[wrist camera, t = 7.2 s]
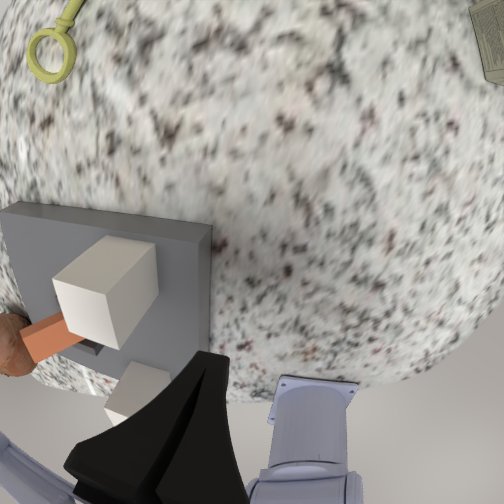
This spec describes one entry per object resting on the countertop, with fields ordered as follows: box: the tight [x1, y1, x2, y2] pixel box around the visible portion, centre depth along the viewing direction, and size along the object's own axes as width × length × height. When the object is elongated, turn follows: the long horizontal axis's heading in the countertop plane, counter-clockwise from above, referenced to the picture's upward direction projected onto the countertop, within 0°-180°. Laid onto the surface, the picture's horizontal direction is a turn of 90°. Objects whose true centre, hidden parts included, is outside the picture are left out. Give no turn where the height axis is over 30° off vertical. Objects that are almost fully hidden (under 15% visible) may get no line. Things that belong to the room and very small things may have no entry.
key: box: [26, 0, 84, 84], centre depth 13 cm, size 7×12×2 cm, turn 160°
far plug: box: [104, 361, 171, 426], centre depth 23 cm, size 4×4×6 cm
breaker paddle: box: [20, 311, 85, 364], centre depth 20 cm, size 3×1×6 cm
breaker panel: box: [0, 201, 212, 382], centre depth 23 cm, size 18×22×5 cm
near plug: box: [52, 235, 159, 350], centre depth 17 cm, size 4×4×6 cm
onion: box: [0, 312, 38, 377], centre depth 28 cm, size 10×9×10 cm
